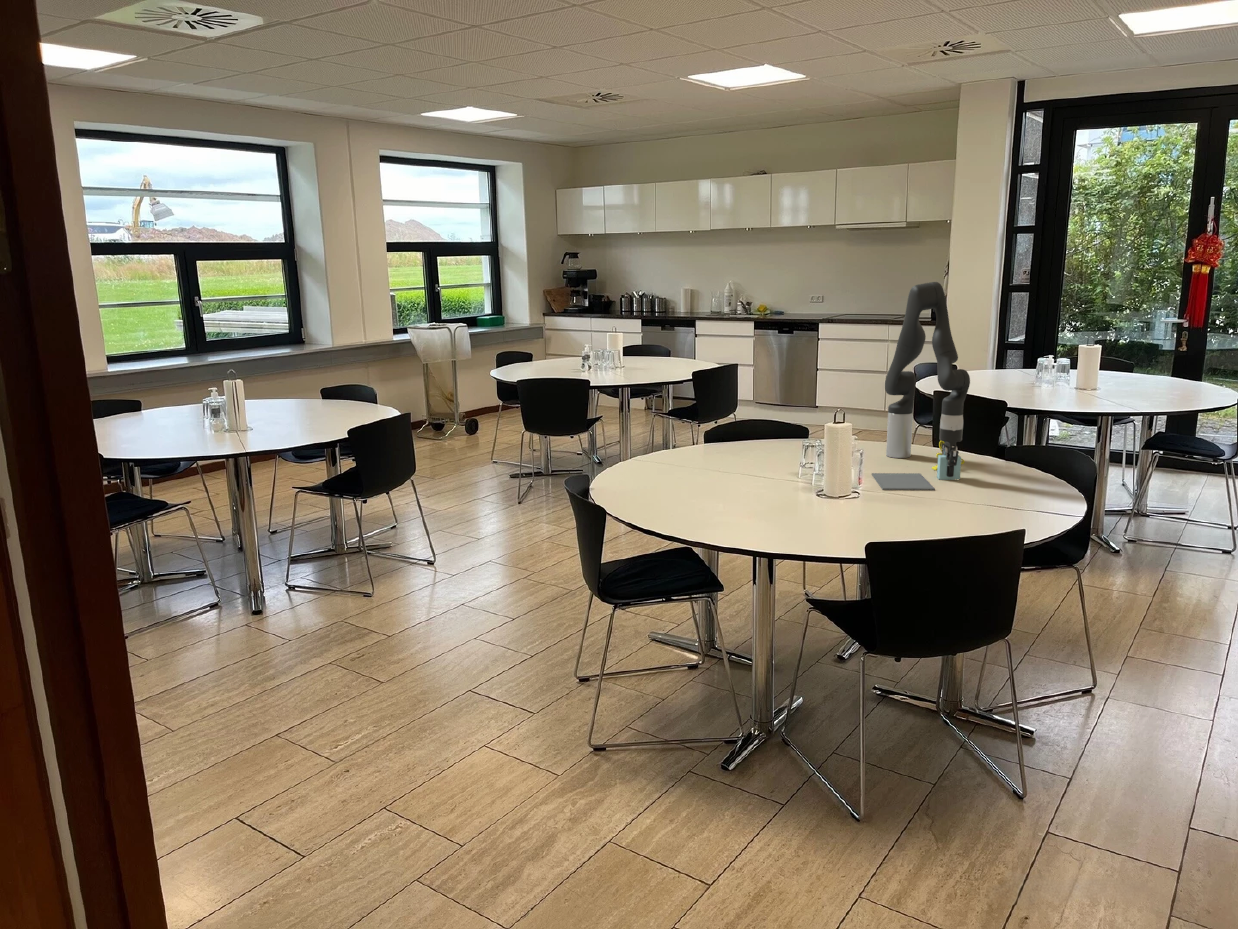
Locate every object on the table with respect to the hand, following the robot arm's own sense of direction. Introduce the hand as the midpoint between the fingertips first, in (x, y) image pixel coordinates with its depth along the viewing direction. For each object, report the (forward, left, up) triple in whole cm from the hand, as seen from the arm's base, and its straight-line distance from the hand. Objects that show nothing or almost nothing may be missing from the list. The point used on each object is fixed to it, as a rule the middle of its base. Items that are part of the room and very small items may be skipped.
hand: (948, 474), depth 319 cm
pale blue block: (0, 0, -1) cm, 1 cm away
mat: (+6, -17, -1) cm, 18 cm away
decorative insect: (-15, +4, -1) cm, 15 cm away
